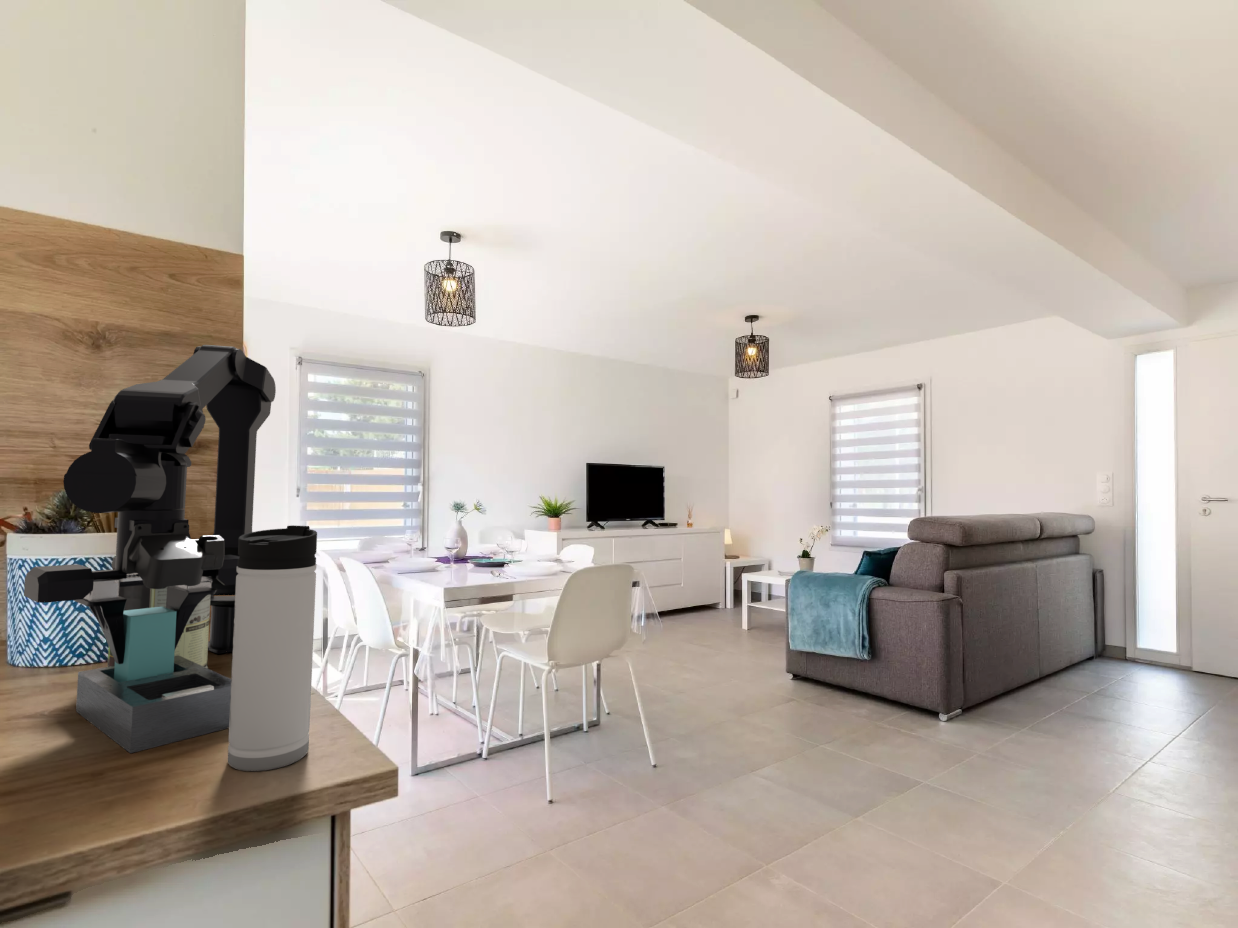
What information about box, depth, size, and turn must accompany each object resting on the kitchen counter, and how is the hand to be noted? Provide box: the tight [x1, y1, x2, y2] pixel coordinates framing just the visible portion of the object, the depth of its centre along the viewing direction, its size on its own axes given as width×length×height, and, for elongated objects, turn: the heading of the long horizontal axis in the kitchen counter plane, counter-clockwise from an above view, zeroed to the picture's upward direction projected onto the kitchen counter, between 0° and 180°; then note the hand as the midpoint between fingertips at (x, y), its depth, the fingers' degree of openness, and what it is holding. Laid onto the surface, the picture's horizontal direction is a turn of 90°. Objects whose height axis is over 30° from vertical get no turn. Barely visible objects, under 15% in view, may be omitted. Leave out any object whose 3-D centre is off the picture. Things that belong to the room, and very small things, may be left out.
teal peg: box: [114, 607, 177, 682], centre depth 68 cm, size 4×4×10 cm
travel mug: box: [227, 524, 318, 772], centre depth 58 cm, size 6×7×20 cm
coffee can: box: [106, 560, 211, 669], centre depth 80 cm, size 10×10×14 cm
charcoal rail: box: [75, 655, 231, 754], centre depth 66 cm, size 16×9×4 cm, turn 53°
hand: (144, 659), depth 68 cm, fingers closed on teal peg, 4 cm apart
